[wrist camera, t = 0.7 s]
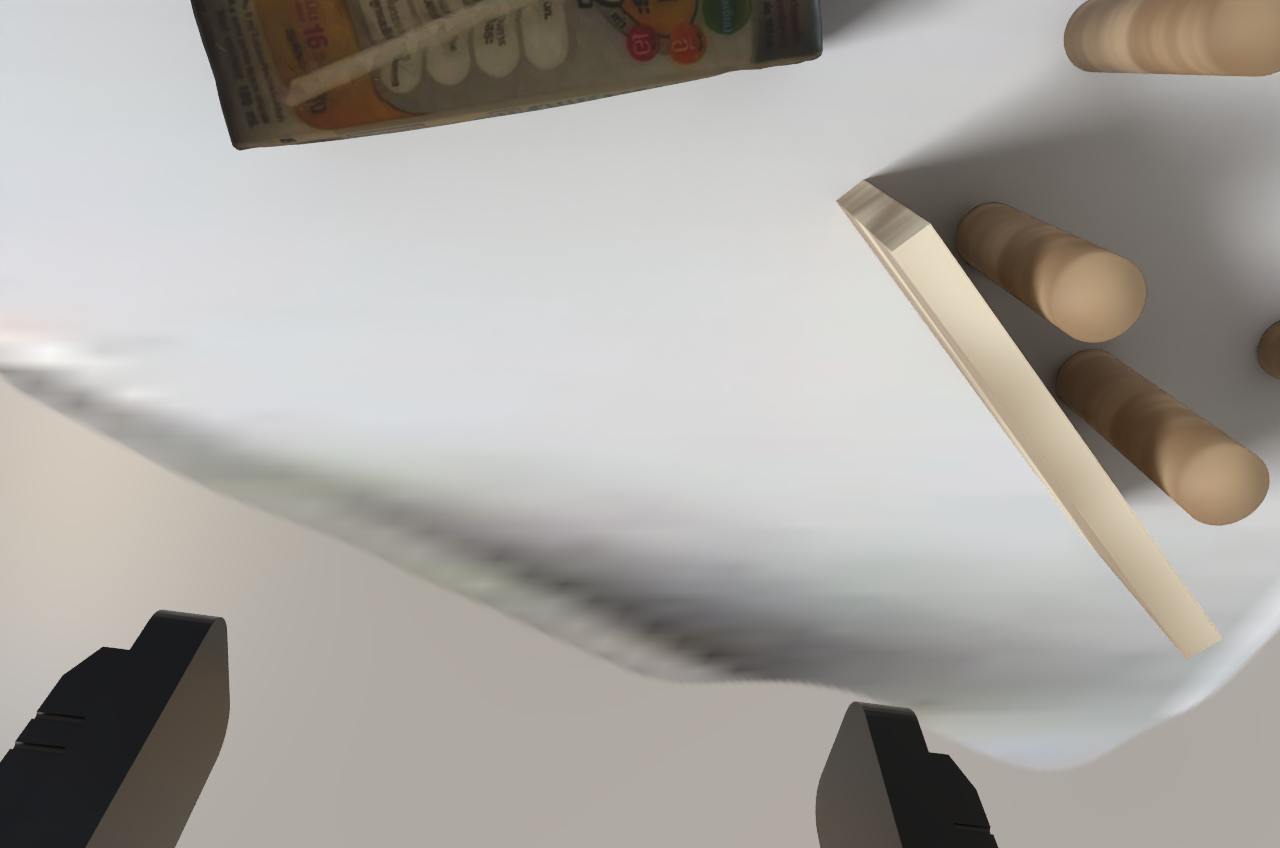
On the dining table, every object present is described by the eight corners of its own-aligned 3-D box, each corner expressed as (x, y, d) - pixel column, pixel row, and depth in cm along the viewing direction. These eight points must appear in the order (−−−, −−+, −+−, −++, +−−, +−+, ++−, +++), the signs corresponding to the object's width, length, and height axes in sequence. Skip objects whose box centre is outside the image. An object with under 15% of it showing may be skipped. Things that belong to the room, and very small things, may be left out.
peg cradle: (1114, -21, 32) (1291, -54, 23) (1336, 352, 36) (1564, 453, 27) (833, 196, 35) (887, 245, 26) (1068, 519, 39) (1189, 663, 30)
